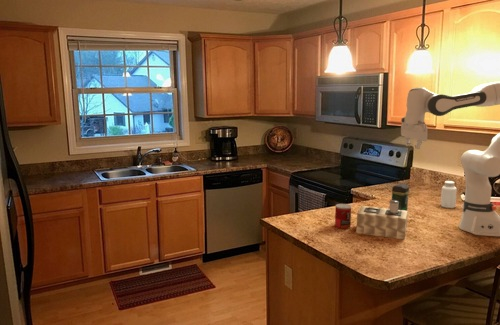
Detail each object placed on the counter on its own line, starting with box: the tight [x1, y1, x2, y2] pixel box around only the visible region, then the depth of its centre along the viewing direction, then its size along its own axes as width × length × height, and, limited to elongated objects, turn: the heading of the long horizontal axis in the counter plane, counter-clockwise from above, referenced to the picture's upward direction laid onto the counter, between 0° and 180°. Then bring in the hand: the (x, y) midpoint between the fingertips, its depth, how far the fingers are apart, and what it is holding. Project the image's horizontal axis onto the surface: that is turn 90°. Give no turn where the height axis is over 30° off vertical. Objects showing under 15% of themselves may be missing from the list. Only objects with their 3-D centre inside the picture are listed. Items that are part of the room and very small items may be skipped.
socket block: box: [355, 205, 409, 240], centre depth 201 cm, size 22×14×10 cm, turn 66°
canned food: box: [334, 203, 352, 230], centre depth 208 cm, size 8×8×11 cm
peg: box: [388, 199, 399, 214], centre depth 198 cm, size 4×4×10 cm
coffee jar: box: [391, 182, 410, 211], centre depth 222 cm, size 10×8×19 cm
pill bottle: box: [440, 180, 458, 209], centre depth 243 cm, size 8×8×15 cm
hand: (412, 147), depth 209 cm, fingers open, 8 cm apart
